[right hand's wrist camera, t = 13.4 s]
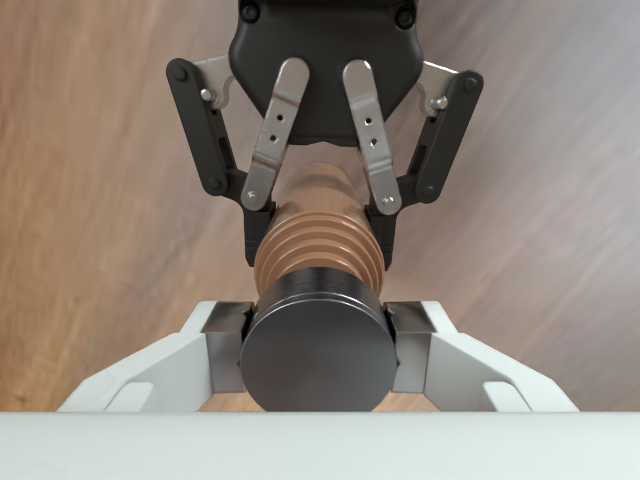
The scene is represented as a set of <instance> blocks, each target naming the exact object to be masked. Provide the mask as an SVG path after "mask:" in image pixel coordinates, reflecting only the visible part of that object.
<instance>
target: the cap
mask: <svg viewBox="0 0 640 480" xmlns="http://www.w3.org/2000/svg"><path fill="white" fill-rule="evenodd" d="M240 371H241V376H242V379H243V382H244V385H245V387H246V389H247V391H248V392H249V394H250V395H251V397H252V398H253V399H254V400H255V402H256V403H257V404H258V405H259V406H261V407H262V408H263V409H264V410H265V411H267V412H371V411H372V410H373V409H375V408H376V407H377V406H378V405H379V404H380V403H381V402H382V401H383V400H384V398H385V397H386V396H387V394H388V393H389V391H390V389H391V388H392V385H393V383H394V380H395V376H396V372H397V353H396V349H395V345H394V342H393V339H392V336H391V333H390V330H389V326H388V323H387V320H386V317H385V314H384V311H383V308H382V305H381V303H380V301H379V299H378V297H377V296H376V294H375V293H374V292H373V290H372V289H371V288H370V287H369V286H368V285H367V284H366V283H365V282H364V281H362V280H361V279H359V278H358V277H356V276H354V275H352V274H350V273H348V272H346V271H343V270H340V269H335V268H331V267H307V268H302V269H298V270H295V271H292V272H289V273H287V274H285V275H283V276H282V277H280V278H278V279H277V280H275V281H274V282H273V283H272V284H271V285H270V286H268V287H267V288H266V290H265V291H264V292H263V293H262V295H261V296H260V298H259V300H258V302H257V304H256V307H255V309H254V312H253V315H252V318H251V321H250V324H249V327H248V330H247V334H246V337H245V340H244V343H243V346H242V349H241V354H240Z"/></svg>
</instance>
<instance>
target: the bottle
mask: <svg viewBox="0 0 640 480" xmlns="http://www.w3.org/2000/svg"><path fill="white" fill-rule="evenodd" d="M307 267H331V268H335V269H340V270H343V271H346V272H348V273H350V274H352V275H354V276H356V277H358V278H359V279H361V280H362V281H364V282H365V283H366V284H367V285H368V286H369V287H370V288H371V289H372V290H373V292H374V293H375V294H376V296H377V297H378V298H379V296H380V293H381V290H382V285H383V280H384V271H385V267H384V259H383V255H382V252H381V249H380V247H379V244H378V242H377V240H376V238H375V235H374V233H373V231H372V228H371V226H370V224H369V222H368V219H367V217H366V215H365V212H364V210H363V208H362V205H361V203H360V201H359V199H358V196H357V194H356V192H355V189H354V187H353V185H352V183H351V181H350V179H349V177H348V176H347V175H346V174H345V173H344V172H343V171H342V170H341V169H340V168H338V167H336V166H334V165H332V164H328V163H323V162H317V163H311V164H308V165H305V166H303V167H302V168H300V169H299V170H297V171H296V172H295V173H294V174H293V176H292V177H291V178H290V180H289V182H288V184H287V186H286V189H285V191H284V193H283V195H282V197H281V199H280V202H279V204H278V206H277V208H276V210H275V213H274V215H273V217H272V219H271V221H270V224H269V226H268V228H267V230H266V232H265V235H264V237H263V239H262V241H261V243H260V246H259V248H258V251H257V253H256V257H255V262H254V276H255V282H256V288H257V292H258V294H259V297H260V296H261V295H262V293H263V292H264V291H265V290H266V288H267V287H268V286H270V285H271V284H272V283H273V282H274V281H275V280H277V279H278V278H280V277H282V276H283V275H285V274H287V273H289V272H292V271H295V270H298V269H302V268H307Z"/></svg>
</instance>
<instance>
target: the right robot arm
mask: <svg viewBox="0 0 640 480" xmlns="http://www.w3.org/2000/svg"><path fill="white" fill-rule="evenodd" d="M254 309H255V305H254V302H232V301H219V302H218V301H201V302H198V304H197V305H196V307H195V308H194V310H193V311H192V313H191V314H190V316H189V317H188V319H187V321H186V322H185V324H184V325H183V327H182V328H181V330H180V331H179V333H172V334H170V335H168V336H166V337H164V338H162V339H161V340H159V341H157V342H155V343H153V344H151V345H149V346H147V347H145V348H143V349H142V350H140V351H138V352H136V353H134V354H132V355H130V356H128V357H126V358H124V359H123V360H121V361H119V362H117V363H115V364H113V365H111V366H109V367H107V368H105V369H104V370H102V371H100V372H98V373H96V374H94V375H92V376H90V377H88V378H86V379H85V380H83V381H82V382H81V384H80V385H79V386H78V387H77V388H76V389H75V390H74V391H73V393H72V394H71V395H70V396H69V397H68V398H67V399H66V400H65V402H64V403H63V404H62V405H61V406H60V407H59V408H58V409H57V411H56V412H0V480H640V412H580V411H579V410H578V408H577V407H576V406H575V405H574V404H573V403H572V402H571V400H570V399H569V398H568V397H567V396H566V395H565V394H564V392H563V391H562V390H561V389H560V388H559V387H558V385H557V384H556V383H555V382H554V381H553V380H551V379H549V378H548V377H546V376H544V375H542V374H540V373H538V372H536V371H534V370H533V369H531V368H529V367H527V366H525V365H523V364H521V363H519V362H518V361H516V360H514V359H512V358H510V357H508V356H506V355H504V354H503V353H501V352H499V351H497V350H495V349H493V348H491V347H489V346H487V345H486V344H484V343H482V342H480V341H478V340H476V339H474V338H472V337H471V336H469V335H467V334H465V333H458V331H457V330H456V328H455V327H454V325H453V324H452V322H451V321H450V319H449V317H448V316H447V314H446V313H445V311H444V310H443V308H442V307H441V305H440V303H439V302H437V301H411V302H384V303H383V311H384V314H385V317H386V320H387V323H388V326H389V330H390V333H391V336H392V339H393V342H394V345H395V349H396V353H397V372H396V376H395V380H394V383H393V385H392V388H391V389H390V390H391V392H392V393H424V396H425V397H426V398H428V399H429V400H430V401H431V402H432V403H433V404H434V405H435V406H436V407H437V408H438V409H439V410H440V411H441V412H196V411H197V410H198V409H199V408H200V407H201V406H203V405H204V404H205V403H206V402H207V401H208V400H209V399H210V398H211V397H212V396H213V393H244V392H246V391H247V389H246V387H245V385H244V382H243V379H242V376H241V371H240V354H241V349H242V346H243V343H244V340H245V337H246V334H247V330H248V327H249V324H250V321H251V318H252V315H253V312H254Z"/></svg>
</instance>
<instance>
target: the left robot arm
mask: <svg viewBox="0 0 640 480" xmlns="http://www.w3.org/2000/svg"><path fill="white" fill-rule="evenodd" d="M418 1H419V0H238V11H239V19H238V26H237V30H236V34H235V36H234V38H233V40H232V42H231V45H230V48H229V52H228V54H226V55H222V56H218V57H213V58H209V59H205V60H201V61H197V62H189V61H187V60H184V59H181V58H176V59H173V60H171V61H170V62H169V63H168V65H167V68H166V76H167V79H168V82H169V85H170V88H171V91H172V94H173V97H174V101H175V104H176V107H177V110H178V113H179V116H180V119H181V122H182V125H183V128H184V131H185V134H186V137H187V140H188V143H189V146H190V149H191V152H192V156H193V159H194V162H195V165H196V168H197V171H198V174H199V177H200V180H201V183H202V186H203V188H204V190H205V191H206V192H207V193H208V194H210V195H212V196H220V195H221V196H224V197H226V198H229V199H232V200H234V201H236V202H237V203H238V204H239V205H240V206H241V208H242V210H243V213H244V233H245V257H246V260H247V262H248V264H249V266H250V267H254V262H255V257H256V253H257V251H258V248H259V246H260V243H261V241H262V239H263V237H264V235H265V232H266V230H267V228H268V226H269V224H270V221H271V219H272V217H273V215H274V213H275V210H276V202H271V193H272V190H273V188H274V185H275V182H276V179H277V177H278V174H279V171H280V168H281V166H282V163H283V161H284V158H285V156H286V153H287V150H288V148H289V145H309V144H313V143H317V142H321V141H325V142H328V143H331V144H334V145H338V146H344V147H356V149H357V153H358V156H359V160H360V162H361V165H362V168H363V172H364V175H365V179H366V182H367V186H368V189H369V193H370V200H369V205H365V207H364V212H365V215H366V217H367V219H368V222H369V224H370V226H371V228H372V231H373V233H374V235H375V238H376V240H377V242H378V244H379V247H380V249H381V252H382V255H383V259H384V267H385V271H387V270H388V268H389V266H390V264H391V261H392V251H393V243H394V234H395V225H396V218H397V215H398V213H399V212H400V211H401V210H402V209H403V208H405V207H407V206H410V205H413V204H416V203H419V202H422V203H425V204H428V203H432V202H434V201H435V200H436V199H437V198H438V197H439V195H440V193H441V190H442V188H443V186H444V183H445V181H446V178H447V176H448V173H449V171H450V168H451V166H452V163H453V161H454V158H455V156H456V153H457V151H458V148H459V146H460V143H461V141H462V138H463V136H464V134H465V131H466V129H467V126H468V124H469V121H470V119H471V116H472V114H473V111H474V109H475V106H476V104H477V101H478V99H479V96H480V94H481V91H482V89H483V85H484V81H483V77H482V75H481V74H480V73H479V72H478V71H476V70H467V71H461V72H456V71H453V70H450V69H447V68H444V67H440V66H437V65H434V64H431V63H428V62H425V61H424V59H423V53H422V50H421V48H420V45H419V42H418V39H417V33H416V18H417V10H418ZM235 79H236V80H237V81H238V82H239V84H240V85H241V87H242V88H243V90H244V91H245V93H246V94H247V95H248V97H249V98H250V100H251V101H252V103H253V104H254V106H255V107H256V108H257V110H258V111H259V113H260V114H261V116H262V117H263V119H264V122H263V125H262V128H261V131H260V134H259V137H258V140H257V143H256V146H255V149H254V152H253V156H252V163H251V166H250V169H249V172H248V173H246V172H243V171H241V170H238V169H237V166H236V163H235V159H234V156H233V152H232V149H231V145H230V142H229V138H228V135H227V131H226V128H225V124H224V121H223V117H222V114H221V111H220V110H221V109H223V108H225V107H226V106H227V104H228V102H229V86H230V84H231V83H232V81H234V80H235ZM413 86H416V87H417V89H418V90H419V92H420V103H419V108H420V111H421V113H422V114H423V115H424V116H426V117H427V118H426V121H425V124H424V126H423V129H422V132H421V135H420V137H419V140H418V143H417V146H416V148H415V151H414V154H413V157H412V159H411V162H410V165H409V168H408V171H407V173H406V175H404V176H401V177H397V178H396V176H395V172H394V168H393V158H392V153H391V149H390V145H389V141H388V137H387V133H386V129H385V125H384V123H385V121H386V120H387V119H388V118H389V116H390V115H391V114H392V113H393V111H394V110H395V109H396V107H397V106H398V105H399V104H400V102H401V101H402V100H403V99H404V97H405V96H406V95H407V94H408V92H409V91H410V90H411V89H412V87H413Z"/></svg>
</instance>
